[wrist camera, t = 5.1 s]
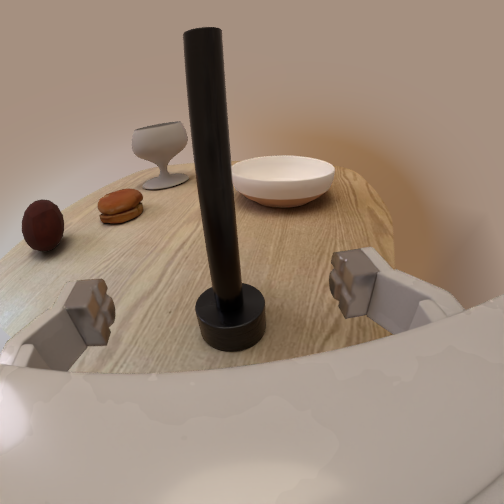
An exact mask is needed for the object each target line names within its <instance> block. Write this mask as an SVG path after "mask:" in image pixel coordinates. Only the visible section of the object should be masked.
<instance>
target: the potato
mask: <svg viewBox="0 0 504 504" xmlns="http://www.w3.org/2000/svg"><path fill="white" fill-rule="evenodd" d="M63 232H64V220H63V215H62V213H61V212H60V210H59V208H58V206H57V205H55V204H54V203H52V202H51V201H49V200H38V201H35V202H33V203H32V204H30V205H29V207H28V208H27V209H26V211H25V213H24V216H23V220H22V233H23V236H24V239H25V241H26V242H27V244H28V245H29V246H30V247H31V248H32V249H34V250H38V251H49V250H52V249H53V248H54V247H56V246H57V245H58V243H59V242H60V241H61V238H62V236H63Z"/></svg>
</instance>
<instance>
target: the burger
mask: <svg viewBox="0 0 504 504" xmlns="http://www.w3.org/2000/svg"><path fill="white" fill-rule="evenodd" d="M142 200H143V196H142V194H141V193H140V192H139V191H138V190H135V189H122V190H119V191H116V192H112V193H109V194H106V195H105V196H104V197H102V198H101V199H100V200H99V202H98V210H99V211H100V212H101V213H102V214H101V215H100V219H101V221H102V222H103V223H111V224H112V223H122V222H125V221H128V220H130V219H133V218H135V217H137V216H138V215H140V214H141V213H142V212H143V206H142V203H141V202H140V201H142Z"/></svg>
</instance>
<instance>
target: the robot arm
mask: <svg viewBox="0 0 504 504" xmlns="http://www.w3.org/2000/svg"><path fill="white" fill-rule="evenodd" d="M331 264H332V265H333V267H334V269H333V270H332V271H331V272H330V276H329V286H330V291H331V294H332V296H333V297H334V298H335V299H336V300H338V301H339V306H338V307H339V308H340V310H341V312H342V314H343V316H344V317H345V319H347V318H352V317H358V316H363V315H367V317H369V318H370V319H372V320H373V321H375V322H376V323H378V324H379V325H381V326H382V327H383V328H385V329H386V330H388V331H389V332H391V333H392V334H394V335H391V336H387V337H384V338H380V339H377V340H373V341H369V342H366V343H362V344H358V345H354V346H350V347H345V348H341V349H337V350H332V351H327V352H323V353H318V354H313V355H308V356H302V357H297V358H291V359H285V360H279V361H273V362H266V363H259V364H252V365H245V366H237V367H228V368H219V369H208V370H196V371H182V372H164V373H87V372H69V371H68V370H69V369H70V368H71V366H72V365H73V364H74V363H75V361H76V360H77V359H78V358H79V357H80V356H81V354H82V353H83V352H84V351H85V350H86V348H87V346H107V343H108V340H109V337H110V333H111V331H110V329H109V327H110V326H111V325H112V324H113V323H114V320H115V306H114V302H113V300H112V298H111V297H110V296H109V295H107V294H106V292H107V289H108V288H107V285H106V283H105V281H104V280H103V279H89V280H76V281H69V282H66V283H65V285H64V287H63V288H62V290H61V292H60V294H59V295H58V297H57V299H56V301H55V302H54V304H53V306H52V308H51V309H47V310H46V311H44V312H43V313H42V314H41V315H39V316H38V317H37V318H35V319H34V320H33V321H32V322H30V323H29V324H28V325H26V326H25V327H24V328H23V329H22V330H20V331H19V332H18V333H17V334H15V335H14V336H13V337H12V338H10V339H9V340H8V341H7V342H6V344H5V346H4V348H3V350H2V352H1V354H0V504H504V294H502V295H500V296H498V297H496V298H494V299H491V300H489V301H487V302H484V303H482V304H480V305H477V306H475V307H472V308H470V309H467V310H465V309H464V308H463V307H462V306H461V304H460V303H459V302H458V301H457V300H456V299H455V298H454V297H453V296H452V294H450V292H448V291H446V290H443V289H441V288H439V287H436V286H434V285H432V284H430V283H428V282H425V281H423V280H421V279H418V278H416V277H414V276H411V275H409V274H407V273H404V272H402V271H400V270H397V269H396V270H393V269H392V268H391V267H390V266H389V264H388V263H387V262H386V261H385V260H384V259H383V258H382V257H381V256H380V255H379V253H378V252H377V251H376V250H375V249H374V248H372V247H366V248H360V249H354V250H348V251H341V252H334V253H333V255H332V259H331Z"/></svg>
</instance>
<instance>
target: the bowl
mask: <svg viewBox="0 0 504 504" xmlns="http://www.w3.org/2000/svg"><path fill="white" fill-rule="evenodd" d="M231 167H232V179H233V185H234V187H235V189H236V190H237V191H238V192H240V193H241V194H242V195H244V196H245V197H246V198H248V199H250V200H253V201H256V202H257V203H259V204H262V205H265V206H269V207H280V208H284V207H295V206H300V205H304V204H306V203H308V202H309V201H312V200H314V199H317V198H318V197H320V196H321V195H322V194H324V193H325V192H326V191H327V190H328V189H329V188H330V186H331V184H332V181H333V179H334V172H335V168H334V167H333V166H332V165H331V164H329V163H327V162H325V161H322V160H319V159H314V158H309V157H301V156H265V157H257V158H252V159H247V160H244V161H241V162H238V163H236V164H234V165H233V166H231Z"/></svg>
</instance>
